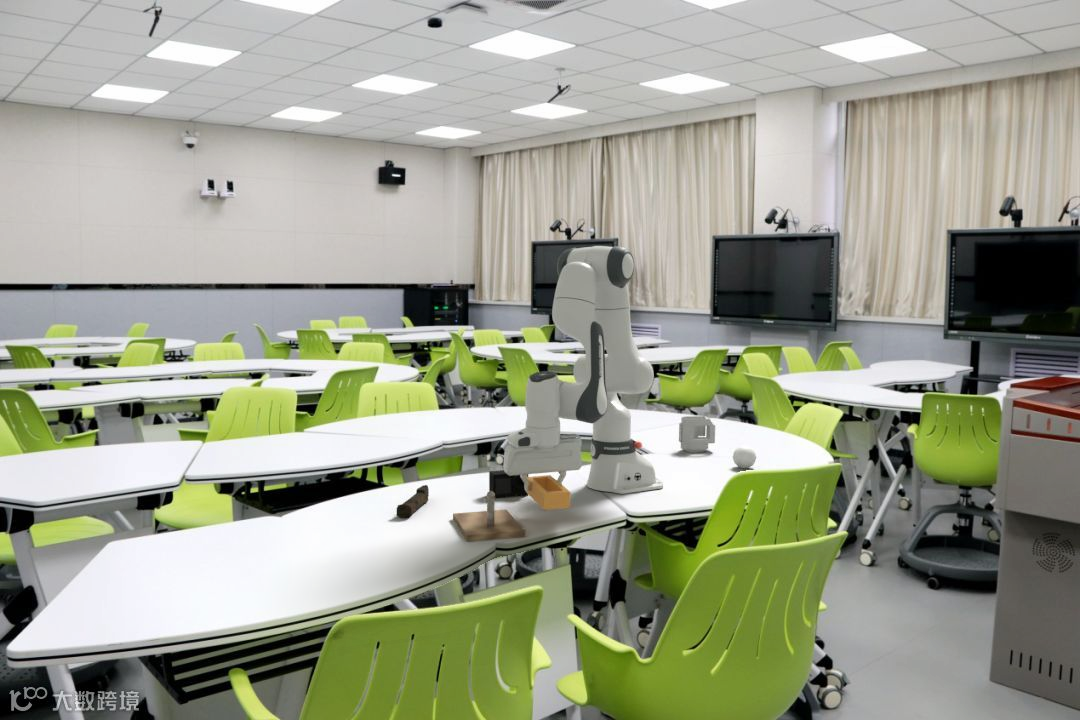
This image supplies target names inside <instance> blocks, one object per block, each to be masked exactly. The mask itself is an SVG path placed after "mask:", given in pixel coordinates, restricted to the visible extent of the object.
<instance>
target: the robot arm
mask: <svg viewBox="0 0 1080 720" xmlns="http://www.w3.org/2000/svg"><path fill="white" fill-rule="evenodd" d="M556 272H557V275H558V279H557V283H556V287H555V292H554V297H553V302H552V311H551V315H552V317H551V318H552V321H553V324H554V325H555V327H556V328H557V329H558V330H559V331H560V332H561V333H562V334H564V335H566V336H568V337H569V338H571V339H572V340H575V341H577V342H579V343H580V345H582V347H583V349H584V353H585V354H582V355H581V356H579V357H578V358H577V359H576V360H575V362H574V365H573V371H572V372H573V373H572V374H573V378H574V381H575V382H572V381H570V382H569V381H566V380H565V381H564V380H561V379H560V378H559V376H558V374H557V373H556V372H554V371H550V370H542V371H537V372H534V373H532V374H530V375H529V376H528V378H527V383H526V388H525V402H524V403H525V406H524V407H525V411H526V420H525V427H524V428H523V429H520V430H518V431H515V432H512V433H510V434H508V435H507V443H508V445H507V446H505V449H504V454H503V455H504V456H503V463H502V464H503V470H504V471H505V472H506V473H507V474H508V475H509V476H512V475H520V477H521V479H522V481H523V482H524V488H525V491H532V488H531V487H532V484H531V483H528V482H527V481H526V479H525V478H528V477H529V475H533V474H545V473H557V472H558V474H559V475H558V478H557V479H556V480H557V481H558V482H559V483H560V484H561V485H563V481H564V480H565V478H566V476H567V472H568V471H569V472H570V471H579V470H580V469H581V468H582V466H583V459H582V451H581V449H582V446H583V445H582V444H583V442H582V437H581V436H579V435H577V434H576V433H571V434H561V421H560V419H564V420H573V421H578V422H583V423H588V424H592V437H591V442H590V457H591V463H590V471H589V474H588V478H587V481H586V486H587V487H588V488H589V489H592V490H595V491H601V492H609V493H615V494H621V495H625V494H631V493H639V492H644V491H645V492H646V491H652V490H659V489H663V488H664V484H663V482H662V481H661V480H660V479H659V478H656V472H655V471H656V470H655V468H654V465H653V464H652V463H651V462H650V461H649V460H648V459H646V457H644V456H643V455H642V454H640V453H639V452H638V451H637V449H638V450H640V449H642V447H643V443H642V442H641V441H638V440H634V439H633V438H631V435H632V434H631V431H632V430H631V427H632V426H631V425H632V415H631V413H630V412H631V411H629V409H628V408H627V407H626V406H625V405H624V404H623V403H622V402H621V401H620V399H619V397H618V394H624V395H625V394H626V395H637V394H644V393H646V392H648V391H649V390H650V389H651V386H652V385H653V382H654V379H655V378H654V377H655V376H654V375H655V374H654V368H653V366H652V365H651V362H650V361H648V360H647V359H646V358H645V357H644V356H643V355H642V353H641V352H640V350H639V349H638V346H637V344H636V343H635V340H634V336H633V332H632V323H631V307H630V305H631V303H630V292H629V287H628V283H629V282H630V280H632V277H633V275H634V272H635V261H634V256H633V255H632V253H631V252H630V250H629V249H628V248H625V247H623V246H616V245H615V246H607V245H592V246H588V247H587V246H586V247H579V248H576V247H573V248H568V249H566V250H564V251H562V253H561V254H560V256H558V259H557V263H556ZM605 351H606V352H605Z"/></svg>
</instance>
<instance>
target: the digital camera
mask: <svg viewBox="0 0 1080 720" xmlns="http://www.w3.org/2000/svg"><path fill="white" fill-rule="evenodd" d="M488 473H489V474H488V476H489V477H488V487H489V489H488V490H489V491H493V492H494V493H495V499H502V498H503V499H505V498H515V497H517V498H518V497H527V496H529V495H528V494H527V493H526V491H525V488H524V482H523V481H522V479H521V477H520V475H512V476H509V475H508V474H507V473H506V472H505V471H504V469H500V470H490V471H488ZM525 479H526V478H525ZM489 491H488V492H489Z"/></svg>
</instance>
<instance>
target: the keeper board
mask: <svg viewBox="0 0 1080 720" xmlns="http://www.w3.org/2000/svg"><path fill="white" fill-rule="evenodd" d="M495 499H496V498H495V493H494V492H493V491H487V493H486V510H483V511H481V510H479V511H469V512H456V513H452V521H454V523H455V524H456V526H457V528H458V529H459V531H460V532H461V534H462V536H463V537H464V539H465V540H466V542H468V543H469V542H478V541H491V540H501V539H502V540H503V539H513V538H523V537H526V530H525V528H524V527H523V526H522V525H521V524H520V523H519V522H518V520H517V519H516V518H515V517H514V516H513V515H512V514H511V513H510V511H508V510H507V509H495V508H496V507H495V503H496V502H495Z"/></svg>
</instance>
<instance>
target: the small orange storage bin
mask: <svg viewBox="0 0 1080 720" xmlns="http://www.w3.org/2000/svg"><path fill="white" fill-rule="evenodd" d="M557 480H558V479H555V478H554V477H553V476H552V475H550V474H548V475H537V476H536V475H535V476H528V478H526V481H527V482H528V483H531V484H532V487H531V488H532V491H526V493H527V494H528V496H529V497H530V498H531V499H532V500H534V502H535V503H536V504H538V506H540V508H541V509H543V511H548V510H549V511H550V510H559V509H561V510H562V509H567V508H571V491H570V490H569V489H568V488H567V487H565V486H564V485H563V484H562V485H561V484H560V483H559V482H558V481H557Z"/></svg>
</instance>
